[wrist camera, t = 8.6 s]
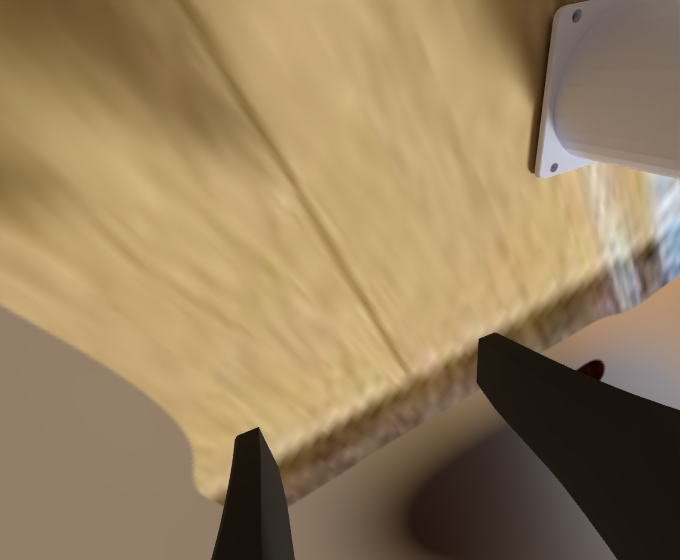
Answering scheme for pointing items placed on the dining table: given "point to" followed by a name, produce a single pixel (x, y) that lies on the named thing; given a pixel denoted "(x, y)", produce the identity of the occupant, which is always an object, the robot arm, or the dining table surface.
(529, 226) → the dining table surface
